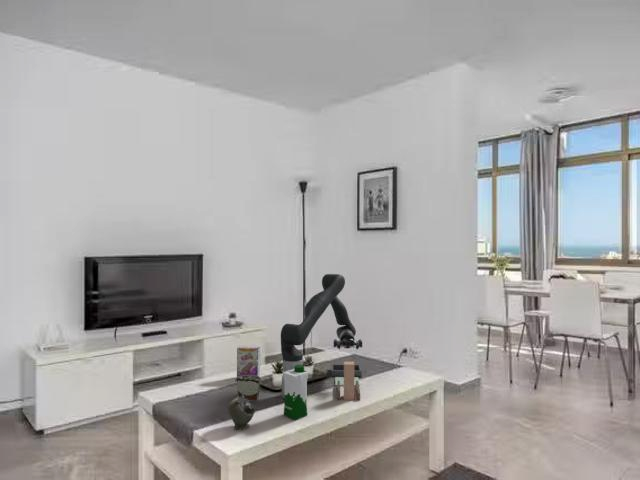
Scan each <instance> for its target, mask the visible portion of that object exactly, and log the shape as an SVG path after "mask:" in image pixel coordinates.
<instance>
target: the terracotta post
mask: <svg viewBox="0 0 640 480" xmlns="http://www.w3.org/2000/svg"><path fill="white" fill-rule="evenodd" d="M343 364H344V386H343V400H344V401H345V400H346V401H347V400H349V401H350V400H351V401H352V400H353V401H354V400H355V386H354V365H355V361H343Z"/></svg>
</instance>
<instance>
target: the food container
mask: <svg viewBox="0 0 640 480" xmlns="http://www.w3.org/2000/svg"><path fill="white" fill-rule="evenodd" d="M234 381H235V382H236V392H237V393H236V394H237V398H238V397H242V395H241V394H243V395H244V398H247V399H248V400H249V401H250V402H258V401H259V395H260V385H262V380H261V376H260V377H259V376H257V375H241V376H238V377H237V376H236V377H235V379H234Z"/></svg>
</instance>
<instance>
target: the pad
mask: <svg viewBox="0 0 640 480" xmlns="http://www.w3.org/2000/svg"><path fill="white" fill-rule="evenodd" d="M359 378H360V377H354V387H356V381H358V384H359V387H360V386H361V385H360V379H359ZM334 381H335V387H338V381H340V387H344V377H336V376H334Z"/></svg>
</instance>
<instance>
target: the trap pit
mask: <svg viewBox="0 0 640 480" xmlns="http://www.w3.org/2000/svg"><path fill="white" fill-rule="evenodd" d="M330 367H331V369H330V371H331V375H330V376H331V377H344V363H342V364H341V363H339V364H335V363H331V364H330ZM362 375H363V371H362V367H361V364H354V377H358V378H361V377H363V376H362Z"/></svg>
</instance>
